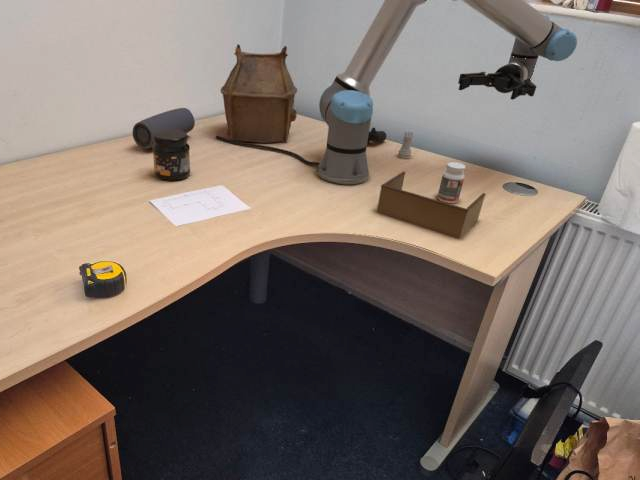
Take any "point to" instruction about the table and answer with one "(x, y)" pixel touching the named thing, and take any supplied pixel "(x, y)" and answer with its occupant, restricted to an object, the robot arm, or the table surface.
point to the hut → (259, 98)
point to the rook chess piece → (406, 146)
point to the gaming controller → (376, 136)
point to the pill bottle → (451, 183)
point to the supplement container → (171, 155)
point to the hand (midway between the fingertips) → (486, 89)
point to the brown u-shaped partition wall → (427, 209)
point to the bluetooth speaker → (162, 125)
